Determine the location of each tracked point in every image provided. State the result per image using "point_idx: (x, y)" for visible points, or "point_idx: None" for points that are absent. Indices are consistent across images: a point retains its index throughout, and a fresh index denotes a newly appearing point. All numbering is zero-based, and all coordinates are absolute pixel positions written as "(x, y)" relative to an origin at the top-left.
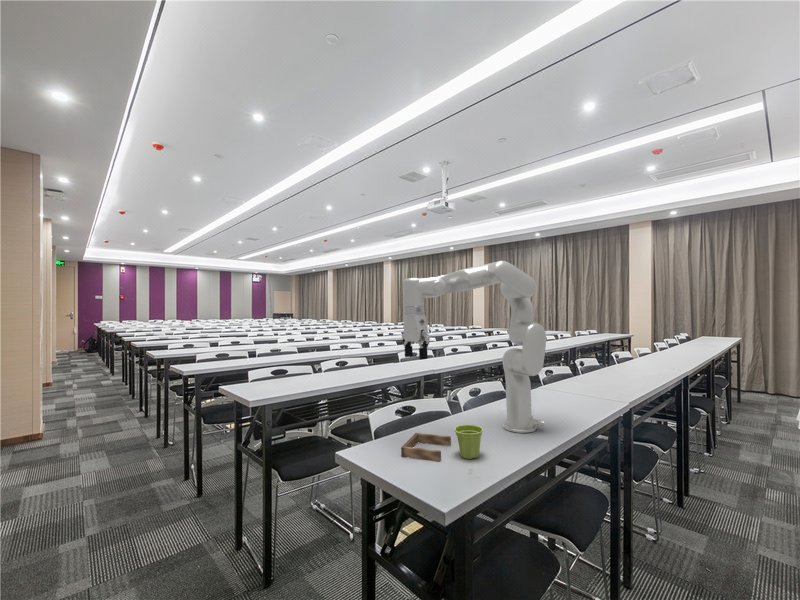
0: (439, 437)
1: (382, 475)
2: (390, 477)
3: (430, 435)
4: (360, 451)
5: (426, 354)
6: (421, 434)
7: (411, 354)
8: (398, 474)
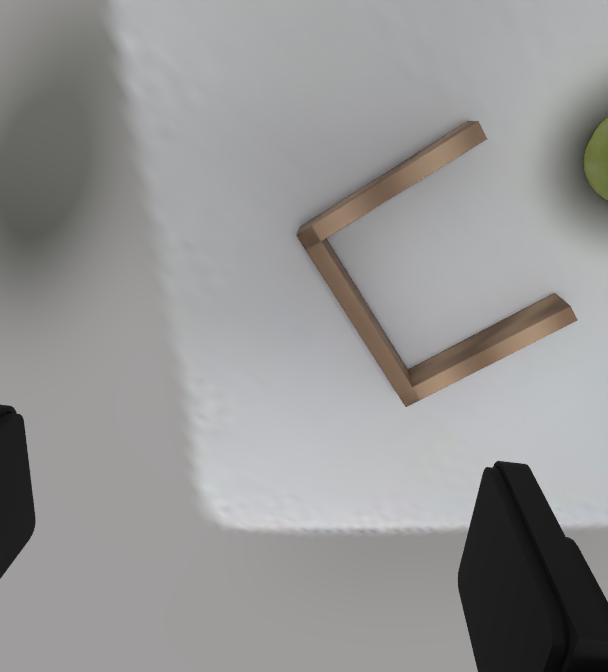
0: (430, 173)
1: None
2: None
3: (384, 201)
4: (244, 467)
5: (582, 563)
6: (338, 228)
7: (5, 449)
8: None
